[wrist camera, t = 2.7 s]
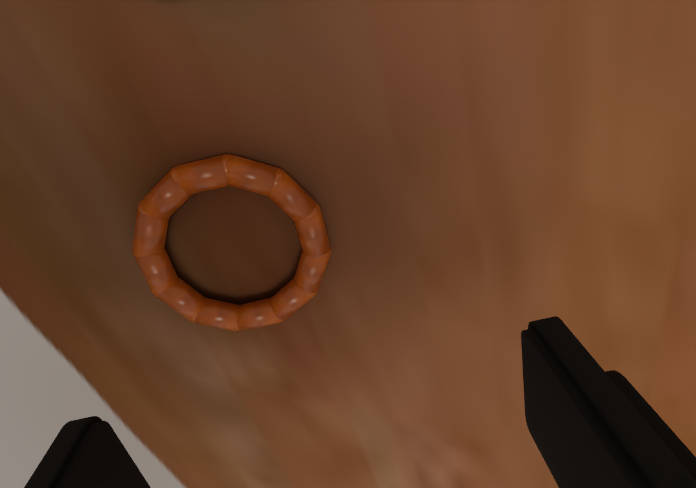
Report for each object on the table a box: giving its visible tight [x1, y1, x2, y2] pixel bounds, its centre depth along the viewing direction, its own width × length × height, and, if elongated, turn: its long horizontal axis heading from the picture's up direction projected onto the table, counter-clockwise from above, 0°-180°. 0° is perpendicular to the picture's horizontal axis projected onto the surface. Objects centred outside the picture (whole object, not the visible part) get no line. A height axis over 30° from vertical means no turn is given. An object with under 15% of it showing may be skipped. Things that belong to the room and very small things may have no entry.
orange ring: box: [132, 154, 331, 332], centre depth 19 cm, size 8×8×1 cm
